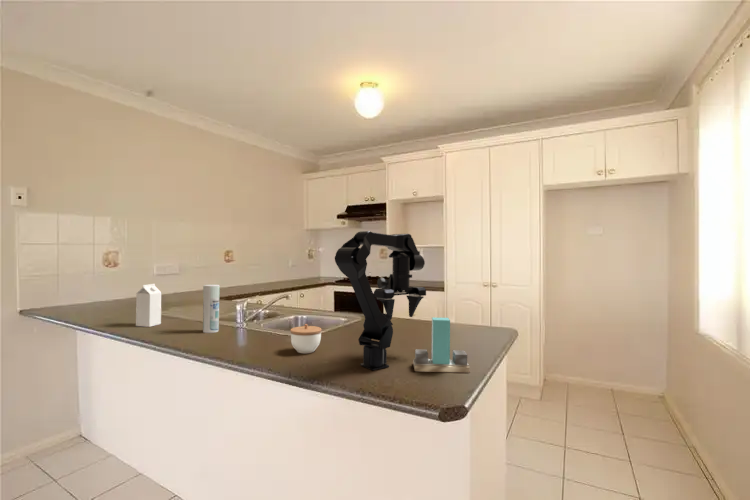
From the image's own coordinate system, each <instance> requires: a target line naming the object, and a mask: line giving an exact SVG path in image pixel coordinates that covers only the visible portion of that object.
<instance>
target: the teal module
mask: <svg viewBox="0 0 750 500" xmlns="http://www.w3.org/2000/svg"><path fill="white" fill-rule="evenodd" d="M431 359H432V363H433V364H450V360H451V320H450V318H449V317H431Z"/></svg>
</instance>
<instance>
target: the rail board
mask: <svg viewBox="0 0 750 500" xmlns="http://www.w3.org/2000/svg"><path fill="white" fill-rule="evenodd" d="M414 351H415V352H414V356H415V357H414V358H413V359H412V360H413V362H412V364H413V368H414V369H413V370H414V372H426V373H427V372H429V373H431V372H434V373H465V374H466V373H471V372H470V371H471V369H470V364H469V363H468V354H467V352H466V351H465V350H460V349H459V350H458V349H455V350H454V349H453V350H452V359H450V364H433V363H432V358H431V359H430V358H429V353H428V350H427V348H426V349H421V348H420V349H418V348H416V349H415V350H414Z"/></svg>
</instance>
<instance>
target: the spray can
mask: <svg viewBox="0 0 750 500" xmlns="http://www.w3.org/2000/svg"><path fill="white" fill-rule="evenodd" d="M202 287H203V289H202V298H203V299H202V305H203V306H202V332H203V333H204V334H213V333H218V332H219V331H220V288H221V287H220V284H203V285H202Z"/></svg>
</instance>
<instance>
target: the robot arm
mask: <svg viewBox="0 0 750 500" xmlns="http://www.w3.org/2000/svg"><path fill="white" fill-rule="evenodd" d="M371 246H376V247H386V248H387V249H388V250H391V251H392V252H391V253H390V254H389V255H388V258H389V259H390V258H392V273H390V274H389V276H388V277H389V278H387V279H385V277H380V278H377V285H376V286H377V288H375V290H372V286H371V284H370V282H369V279H368V276H367V274H366V272H367V267H368V262H367V259H368V257H369V256H370V255H371V250H372V249H371ZM334 262H335V264H336V266H337V268H338V269H339V271H340V273H342V274H343V275H344V276H346V277H347V279H348V280H349V282H350V285H351V287H352V290H353V292H354V294H355V296H356V298H357V301H358V304H359V307H360V308H361V311H362V314H363V315H364V320H363V330H362V332H361V333H360V335H359V338H358V343H359V344H358V345H360V346H363V354H362V355H363V358H362V359H363V362H361V363H360V365H359V366H361V367H363V368H366V369H368V370H370V371H377V370H380V369H381V370H382V369H385V368H389V364H387V348H390V347H391V343H392V339H393V335H394V329H393V325H394V324H393V323H392V321H391V320H392V318H393V315H394V307H395V301H396V300H395V299H394V297H395V296H406V298H407V300H408V317H410V318H413V316H414V314H415V312H416V310H417V307H418V306H419V304H420V302H421V301H422V299H424V296H427V290H426V287H425V286H417V285H416V286H415V285H414V286H413V285H410V279H411V278H413V274H410V272H413V271H414V272H415V271H421V270H422V269H423V268H424V267H425V262H426V261H425V259H424V257H423V255H421V252H420V250H418V248H417V246H416V243H415V240H414V238H413V237H412V235H411V234H410V233H393V234H391V233H390V234H387V233H378V232H373V231H370V230H367V231H358V232H356V233H355V234H354V236H353V237H351V238H350V239H349V240H348V241H346V242H344V243H343V244H342V245H341V246H340V248H338V250H336V253H335V256H334ZM377 300H378V301H380V302H381V303H382V305H383V308H384V309H385V313H383V312H381V310H380V308H379V305H378V303H377Z"/></svg>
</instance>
